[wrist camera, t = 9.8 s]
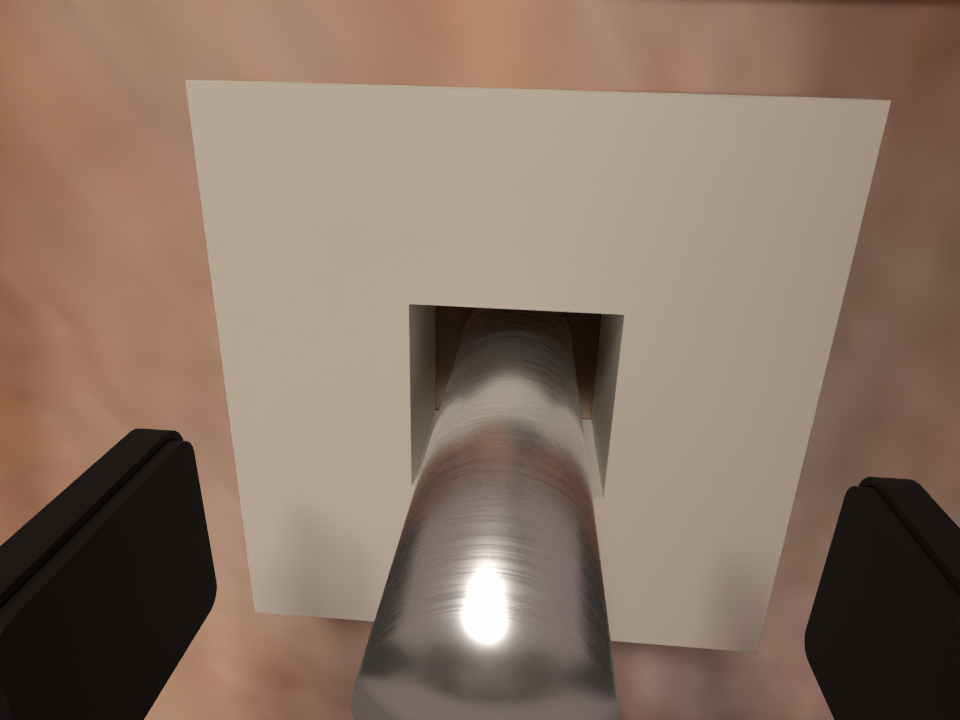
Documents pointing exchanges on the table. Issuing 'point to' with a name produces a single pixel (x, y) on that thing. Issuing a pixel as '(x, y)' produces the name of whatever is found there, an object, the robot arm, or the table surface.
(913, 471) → the table surface
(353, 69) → the table surface
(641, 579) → the hole block
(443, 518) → the peg
